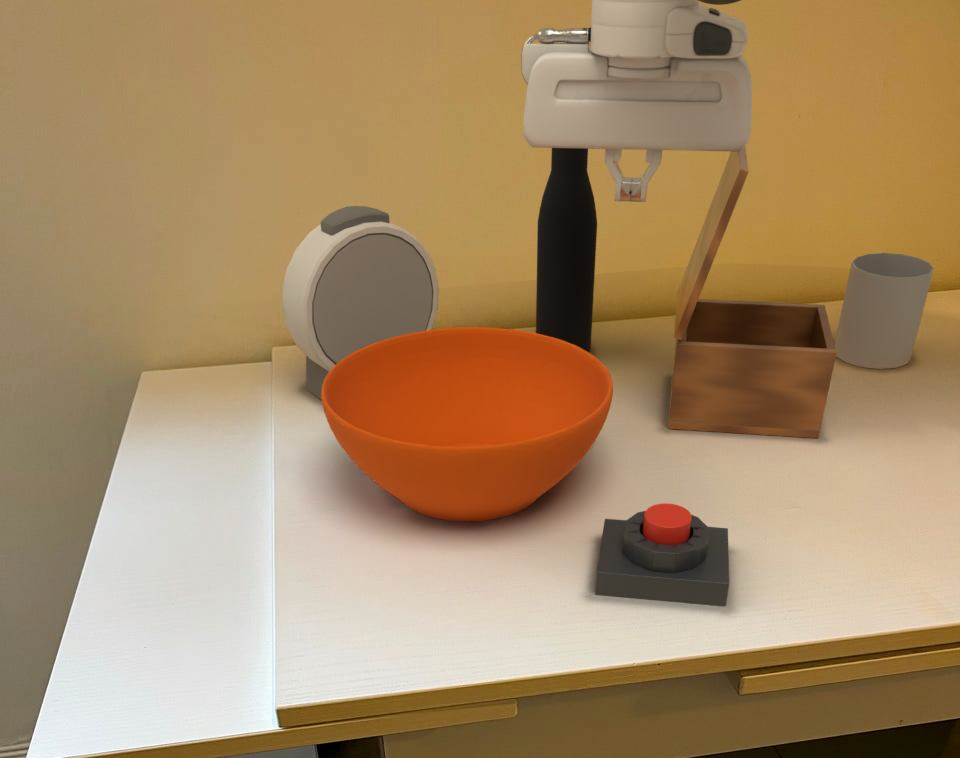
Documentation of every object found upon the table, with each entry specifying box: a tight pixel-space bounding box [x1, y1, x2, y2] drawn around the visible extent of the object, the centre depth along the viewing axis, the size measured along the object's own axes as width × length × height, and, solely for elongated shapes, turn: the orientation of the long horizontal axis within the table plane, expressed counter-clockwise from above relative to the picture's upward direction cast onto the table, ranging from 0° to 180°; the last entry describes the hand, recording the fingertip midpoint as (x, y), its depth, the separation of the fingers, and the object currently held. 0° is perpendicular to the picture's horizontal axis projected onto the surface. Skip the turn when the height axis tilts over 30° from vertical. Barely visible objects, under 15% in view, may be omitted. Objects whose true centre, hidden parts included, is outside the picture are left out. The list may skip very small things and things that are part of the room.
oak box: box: [667, 298, 837, 439], centre depth 101 cm, size 15×13×9 cm
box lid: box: [673, 145, 750, 340], centre depth 94 cm, size 16×13×1 cm
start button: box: [643, 503, 692, 545], centre depth 77 cm, size 4×4×2 cm
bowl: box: [320, 326, 614, 522], centre depth 89 cm, size 25×25×10 cm
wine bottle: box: [535, 148, 598, 354], centre depth 106 cm, size 6×6×30 cm
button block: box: [594, 510, 730, 607], centre depth 79 cm, size 10×8×4 cm
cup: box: [834, 252, 935, 370], centre depth 110 cm, size 8×8×10 cm
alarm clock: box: [281, 205, 440, 401], centre depth 104 cm, size 16×10×18 cm, turn 126°
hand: (630, 200), depth 93 cm, fingers closed
